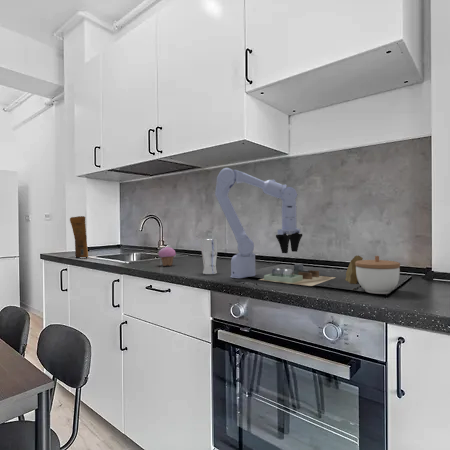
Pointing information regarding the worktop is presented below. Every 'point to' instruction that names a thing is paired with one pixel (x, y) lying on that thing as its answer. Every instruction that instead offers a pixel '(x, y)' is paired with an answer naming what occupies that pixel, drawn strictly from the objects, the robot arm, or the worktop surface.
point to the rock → (352, 271)
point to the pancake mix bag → (79, 236)
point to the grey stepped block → (299, 269)
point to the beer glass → (209, 255)
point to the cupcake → (167, 255)
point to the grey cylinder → (282, 272)
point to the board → (309, 280)
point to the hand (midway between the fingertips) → (289, 252)
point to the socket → (309, 274)
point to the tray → (283, 278)
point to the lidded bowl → (377, 275)
